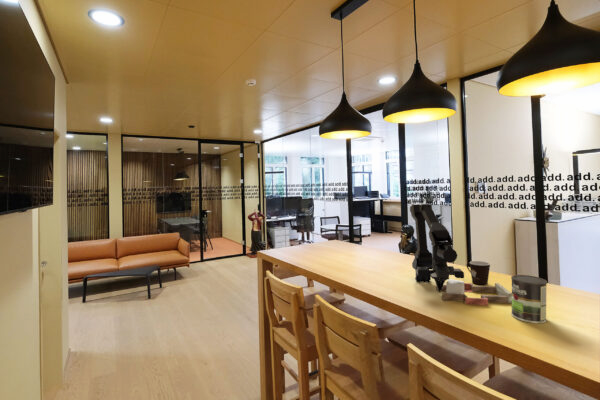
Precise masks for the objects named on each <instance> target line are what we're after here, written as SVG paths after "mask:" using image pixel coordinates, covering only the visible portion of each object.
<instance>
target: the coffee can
mask: <svg viewBox="0 0 600 400" xmlns="http://www.w3.org/2000/svg"><path fill="white" fill-rule="evenodd" d="M510 279H511V293H512V303H511V313H510V314H511V316H512V317H513V318H515V319H516V320H519V321H522V322H525V323H530V324H544V323H546V322H547V320H548V319H547V284H548V282H547V280H546V279H544V278H541V277H538V276H535V275H533V276H532V275H529V274H528V275H527V274H526V275H524V274H516V275H512V276H511V278H510Z"/></svg>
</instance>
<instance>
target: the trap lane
mask: <svg viewBox="0 0 600 400" xmlns="http://www.w3.org/2000/svg"><path fill="white" fill-rule="evenodd" d="M435 288H436V292H437V291H438V288H437V285H436V284H435ZM438 292H439V291H438ZM441 292H442V293H441V299H442V301H453V302H454V301H455V302H463V303H464V304H465V305H471V306H472V305H473V306H475V305H476V306H489V303H493V304H494V303H495V304H498V303H499V304H512V291H509V290H508V289H507V288H506V287H504V286H503V285H501V284H500V283H498V282H494V286H493V285H488V286H487V285H485V286H481V285H475V284H473V283H472V282H464V294H449V293H446V284H443V287H442V289H441ZM444 292H445V293H444ZM466 292H467V293H482V294H480V297H468V295H466ZM483 293H485V294H483ZM488 293H490V294H488ZM492 294H493V295H492ZM495 294H497V295H495Z"/></svg>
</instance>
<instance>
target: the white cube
mask: <svg viewBox="0 0 600 400" xmlns="http://www.w3.org/2000/svg"><path fill="white" fill-rule="evenodd" d="M464 283H465V281H464V280H460V279H452V278H449V279H447V280H446V281H445V285H446V291H445V293H449V294H465V292H464Z"/></svg>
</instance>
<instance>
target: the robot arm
mask: <svg viewBox="0 0 600 400" xmlns="http://www.w3.org/2000/svg"><path fill="white" fill-rule="evenodd" d="M432 205H433V204H431V203H425V202H422V203H412V204H411V205H410V207H409V212H410V213H411V214H410V215H411V218H412V219H413V220H414V222H415V223H414V224H415V232H416V244H417V245H416V246H417V249H416V251H415V253H414V258H413V261H412V264H411V265H412V267H411V268H413V269H414V270H415V277H414V280H415V281H416V282H417V283H431V280H434V282H435V286H436V285H437V288H438V292H439V293H440V292H442V291H441V289H442V287H443V285H445V283H446V282H447V281H448V280H449V279H450V276H454V277H455V278H456V279H465V273H464V271H463V270H461V268H454V266H452V265H449V266H448V263H451V264H452V263H454V262H455V261H456V260H457V259H458V253H457V251H456V250H455V249H453V246H454V244H453V239H452V235H450V232H449V230H448V229H447V228H446V226H445V225H443V224H441V222H440V221H439V220H438V216H436V214H435V211H434V210H433V206H432ZM426 225H427V226H428V229H429V230H428V231H429V232H428V238H429V239H430V242H431V246H432V247H431V250H432V251H431V252H430V250H429V249H428V240H427V239H428V238H427V229H426V227H427V226H426Z"/></svg>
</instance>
